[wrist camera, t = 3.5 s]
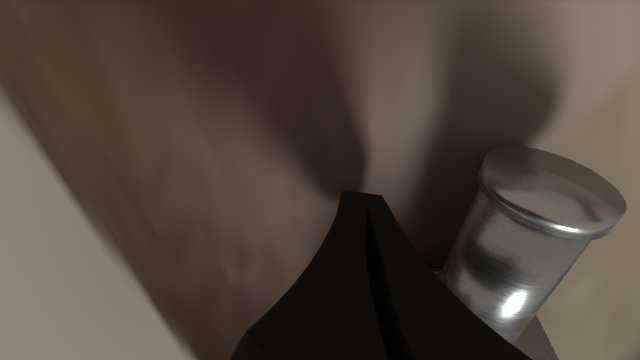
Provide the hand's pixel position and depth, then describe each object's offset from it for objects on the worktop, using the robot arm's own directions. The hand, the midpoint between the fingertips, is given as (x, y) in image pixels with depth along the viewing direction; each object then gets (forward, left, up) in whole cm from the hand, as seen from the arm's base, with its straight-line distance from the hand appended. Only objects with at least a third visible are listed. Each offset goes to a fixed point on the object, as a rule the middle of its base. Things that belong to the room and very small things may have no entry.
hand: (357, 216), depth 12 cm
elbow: (-4, -5, 0) cm, 6 cm away
